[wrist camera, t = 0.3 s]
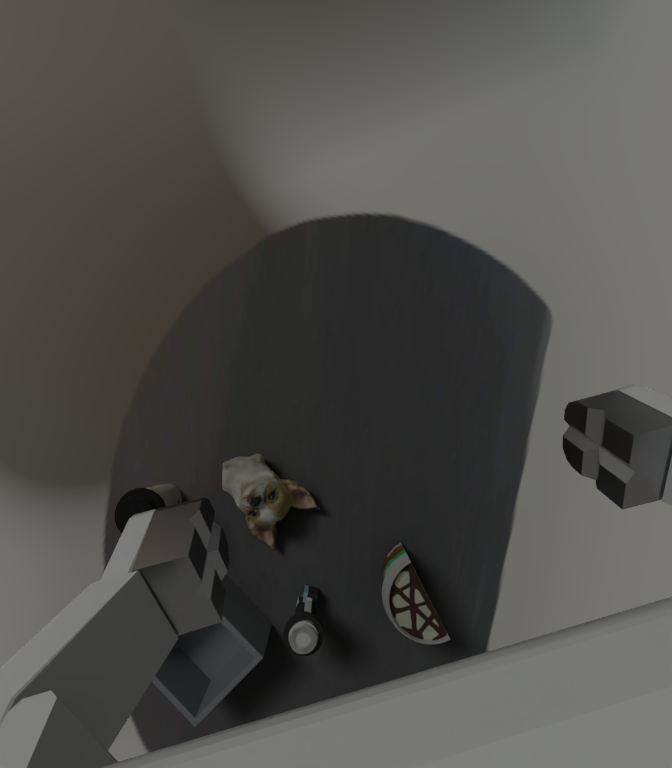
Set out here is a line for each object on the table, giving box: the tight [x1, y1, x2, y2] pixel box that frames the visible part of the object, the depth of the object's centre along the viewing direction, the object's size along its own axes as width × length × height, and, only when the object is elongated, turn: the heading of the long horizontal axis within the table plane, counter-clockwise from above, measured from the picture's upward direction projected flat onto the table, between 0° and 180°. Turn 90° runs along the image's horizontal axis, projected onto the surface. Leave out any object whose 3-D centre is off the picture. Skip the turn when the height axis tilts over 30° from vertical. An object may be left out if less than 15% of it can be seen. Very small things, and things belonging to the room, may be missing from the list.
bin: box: [152, 575, 272, 727], centre depth 56 cm, size 13×13×8 cm
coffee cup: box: [115, 484, 182, 533], centre depth 55 cm, size 7×7×10 cm
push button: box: [283, 585, 324, 656], centre depth 55 cm, size 7×5×10 cm
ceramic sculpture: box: [222, 454, 320, 551], centre depth 57 cm, size 11×9×15 cm
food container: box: [382, 542, 451, 644], centre depth 56 cm, size 12×6×10 cm, turn 27°
